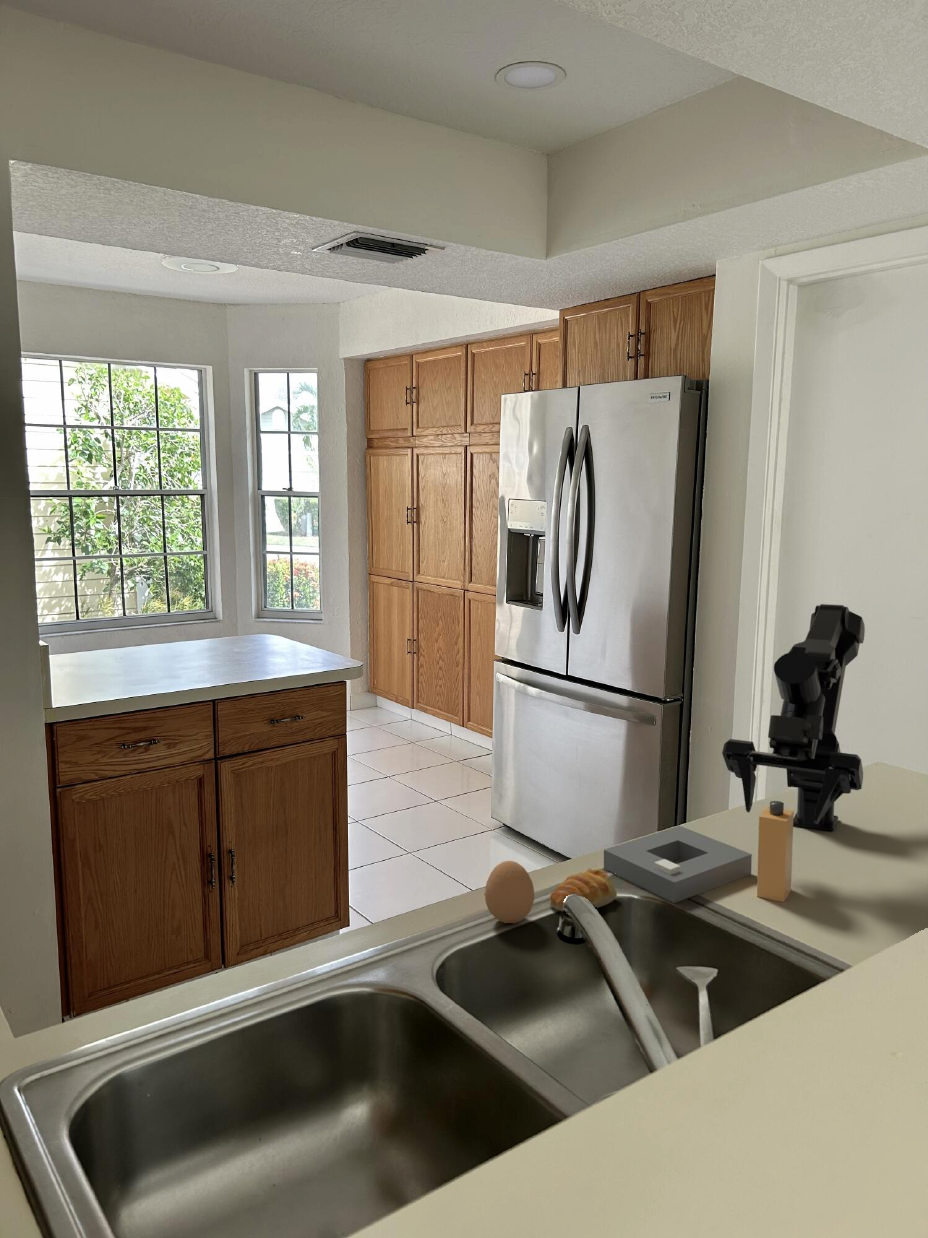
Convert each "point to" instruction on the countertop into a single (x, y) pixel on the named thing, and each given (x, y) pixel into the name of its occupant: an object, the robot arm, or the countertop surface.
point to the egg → (509, 892)
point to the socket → (675, 882)
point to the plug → (775, 852)
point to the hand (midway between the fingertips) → (781, 816)
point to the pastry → (585, 888)
